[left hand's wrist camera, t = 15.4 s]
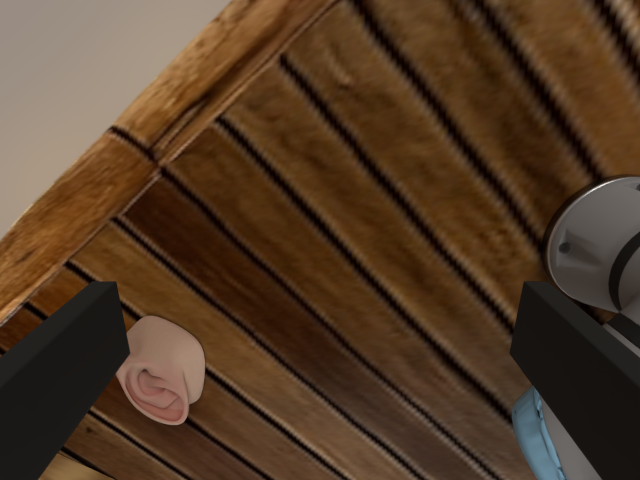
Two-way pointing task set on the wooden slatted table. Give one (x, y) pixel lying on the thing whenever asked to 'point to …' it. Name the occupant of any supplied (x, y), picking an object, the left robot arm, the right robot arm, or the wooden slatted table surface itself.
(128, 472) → the wooden slatted table surface
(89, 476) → the bar
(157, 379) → the anatomical model
